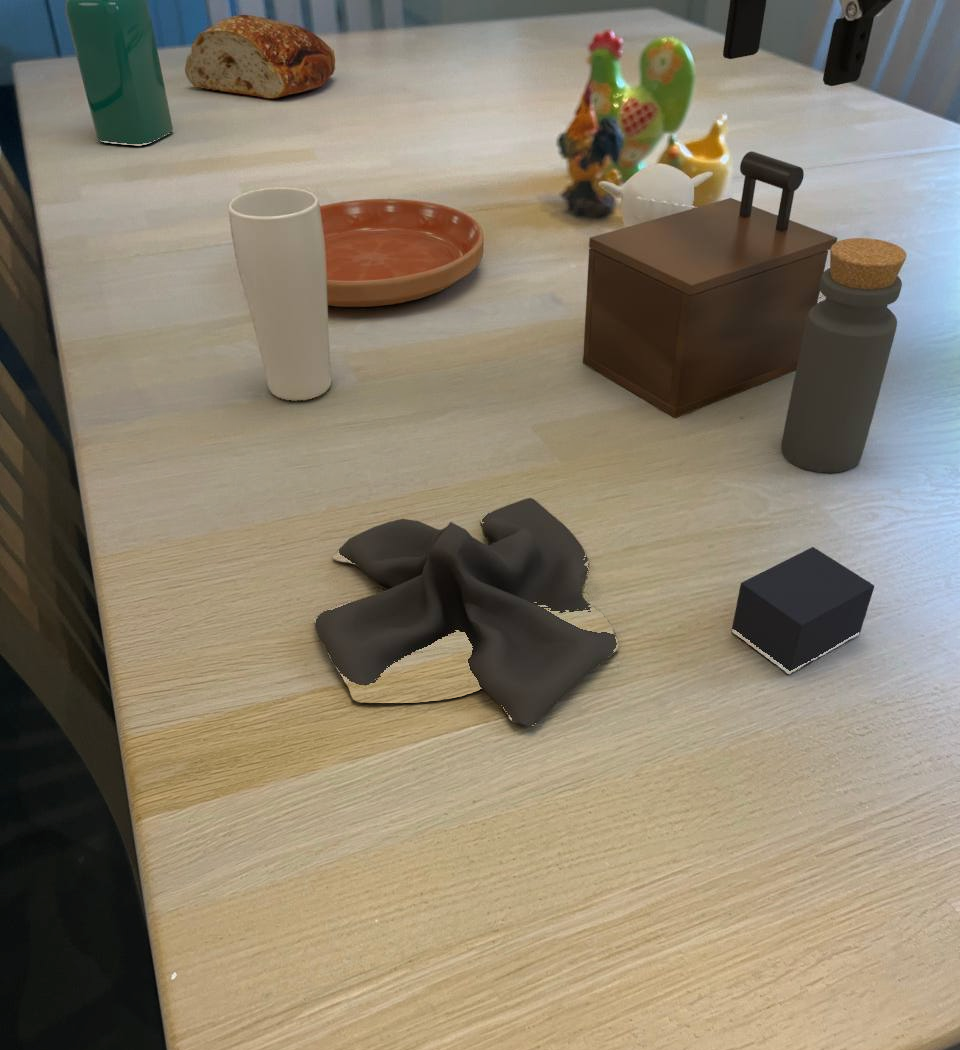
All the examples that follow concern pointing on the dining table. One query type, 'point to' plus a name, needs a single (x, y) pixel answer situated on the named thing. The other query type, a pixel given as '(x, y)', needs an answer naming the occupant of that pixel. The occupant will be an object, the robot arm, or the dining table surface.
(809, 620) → the matte black cuboid
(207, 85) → the bread
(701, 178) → the figurine
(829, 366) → the bottle
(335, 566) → the dining table surface
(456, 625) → the cloth
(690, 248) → the box lid
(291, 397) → the drinking glass
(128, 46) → the pitcher
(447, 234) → the saucer
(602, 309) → the wooden box
